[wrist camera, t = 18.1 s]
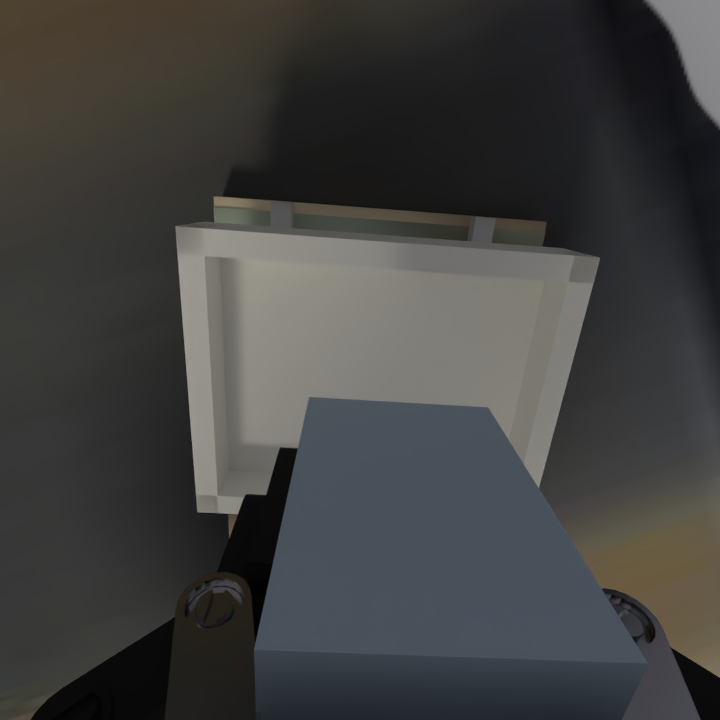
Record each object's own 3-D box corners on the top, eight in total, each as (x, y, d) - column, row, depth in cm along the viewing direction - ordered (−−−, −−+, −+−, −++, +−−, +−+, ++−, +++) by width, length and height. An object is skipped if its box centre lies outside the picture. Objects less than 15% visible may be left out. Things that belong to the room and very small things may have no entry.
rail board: (463, 567, 32) (472, 596, 30) (236, 557, 32) (227, 586, 29) (535, 220, 24) (555, 223, 21) (222, 196, 23) (207, 196, 21)
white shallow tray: (495, 465, 26) (528, 527, 21) (227, 451, 25) (197, 512, 20) (543, 243, 21) (600, 257, 16) (217, 219, 21) (175, 226, 16)
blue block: (460, 545, 14) (555, 861, 7) (304, 538, 14) (259, 856, 7) (488, 407, 12) (648, 663, 5) (308, 397, 12) (253, 649, 5)
